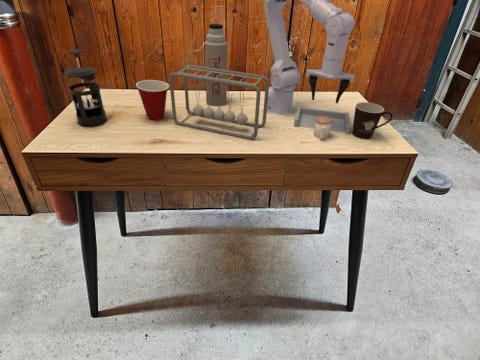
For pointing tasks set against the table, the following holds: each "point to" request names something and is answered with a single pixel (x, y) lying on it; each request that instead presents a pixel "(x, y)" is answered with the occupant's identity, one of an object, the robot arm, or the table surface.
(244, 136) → the newton's cradle
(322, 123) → the cylinder with tab
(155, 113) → the plastic cup
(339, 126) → the caddy
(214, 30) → the thermos bottle
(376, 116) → the coffee mug
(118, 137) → the table surface
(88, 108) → the french press
